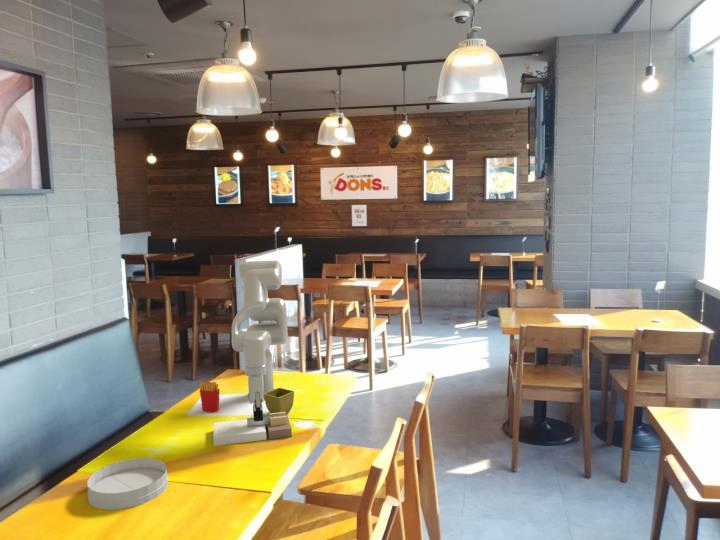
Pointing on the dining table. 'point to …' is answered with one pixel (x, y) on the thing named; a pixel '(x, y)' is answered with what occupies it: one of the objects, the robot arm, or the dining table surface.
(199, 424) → the dining table surface
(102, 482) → the dish
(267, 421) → the bolt
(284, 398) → the flower pot
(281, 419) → the slide latch panel
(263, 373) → the robot arm
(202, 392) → the french fries
